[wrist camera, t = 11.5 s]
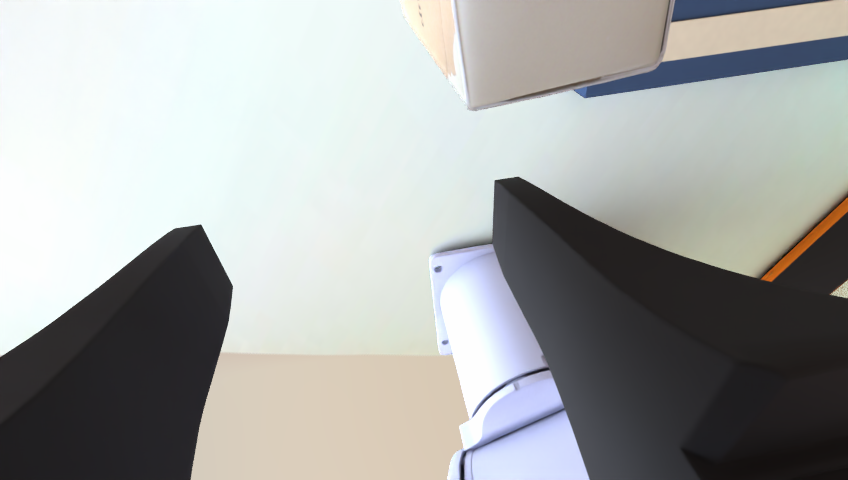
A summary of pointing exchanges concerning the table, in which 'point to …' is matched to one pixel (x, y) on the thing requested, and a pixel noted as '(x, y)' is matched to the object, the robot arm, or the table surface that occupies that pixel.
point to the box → (538, 44)
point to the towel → (741, 41)
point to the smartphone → (817, 257)
